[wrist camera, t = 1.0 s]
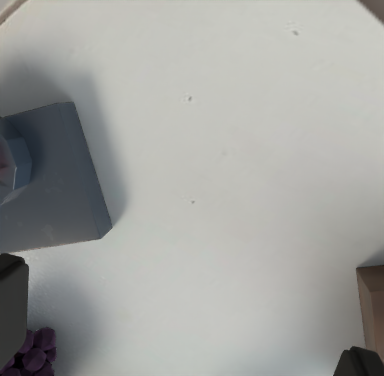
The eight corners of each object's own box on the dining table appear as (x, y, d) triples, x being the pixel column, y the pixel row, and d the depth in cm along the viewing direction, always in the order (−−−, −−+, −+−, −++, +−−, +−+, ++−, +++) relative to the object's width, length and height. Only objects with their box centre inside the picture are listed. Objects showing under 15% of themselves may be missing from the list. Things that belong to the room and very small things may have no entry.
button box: (-38, 120, 26) (-87, 126, 22) (70, 91, 24) (37, 91, 20) (11, 244, 29) (-26, 267, 25) (113, 227, 27) (90, 250, 23)
